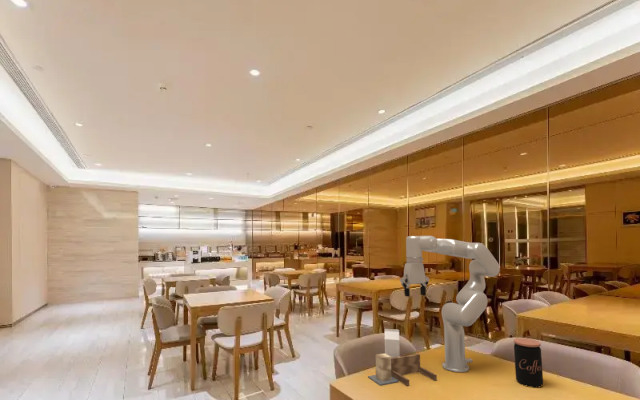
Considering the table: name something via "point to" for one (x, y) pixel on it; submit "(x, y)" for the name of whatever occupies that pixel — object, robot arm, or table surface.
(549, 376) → the table surface
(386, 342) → the milk carton
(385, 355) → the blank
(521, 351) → the coffee jar
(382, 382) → the coaster
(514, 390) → the table surface
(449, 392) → the table surface
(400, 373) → the wooden arch bench
